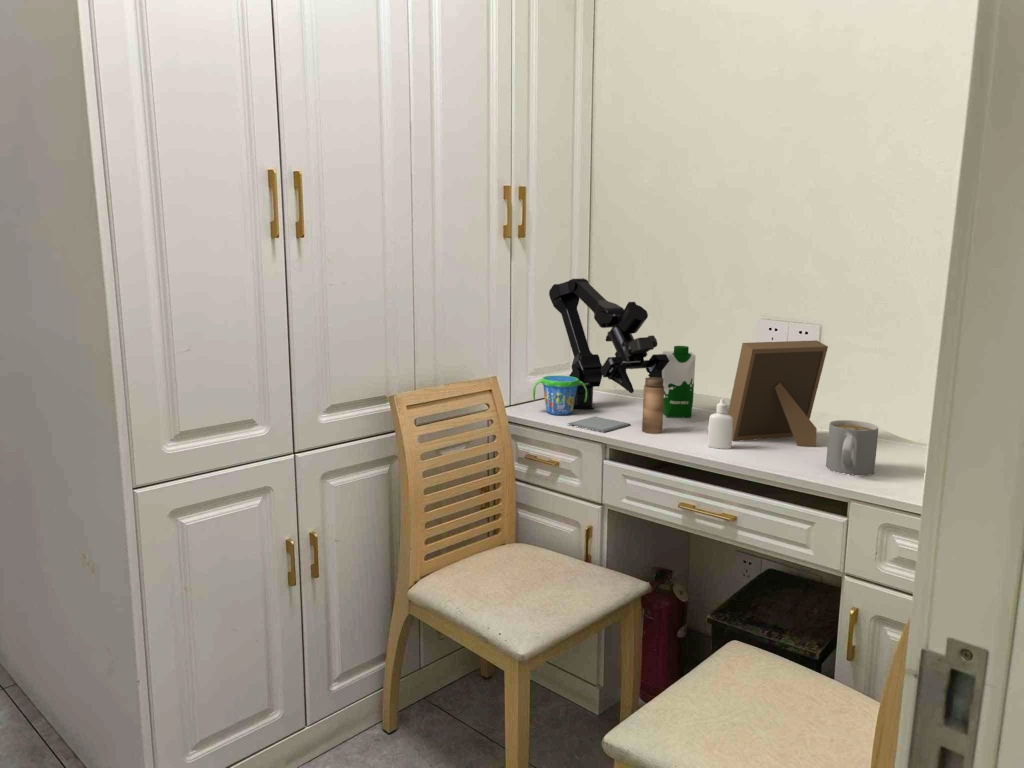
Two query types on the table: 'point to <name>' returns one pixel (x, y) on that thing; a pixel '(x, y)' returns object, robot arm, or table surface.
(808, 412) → the photo frame
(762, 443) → the table surface
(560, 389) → the snack cup
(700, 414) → the table surface
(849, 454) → the coffee mug
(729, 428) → the eye dropper bottle
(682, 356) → the milk carton
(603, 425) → the coaster
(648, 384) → the shaker
